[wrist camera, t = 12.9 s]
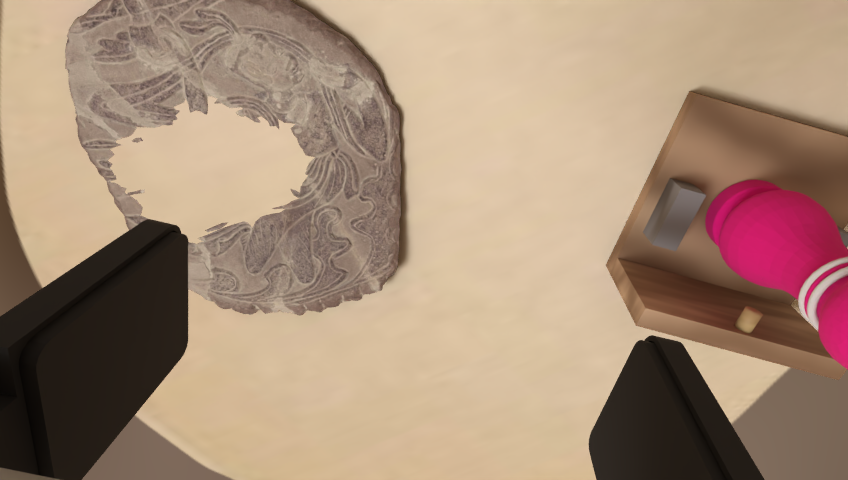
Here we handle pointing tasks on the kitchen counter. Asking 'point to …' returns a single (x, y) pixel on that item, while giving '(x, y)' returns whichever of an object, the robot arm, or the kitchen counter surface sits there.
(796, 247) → the pepper mill
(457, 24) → the kitchen counter surface
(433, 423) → the kitchen counter surface
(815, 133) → the pegged stand
